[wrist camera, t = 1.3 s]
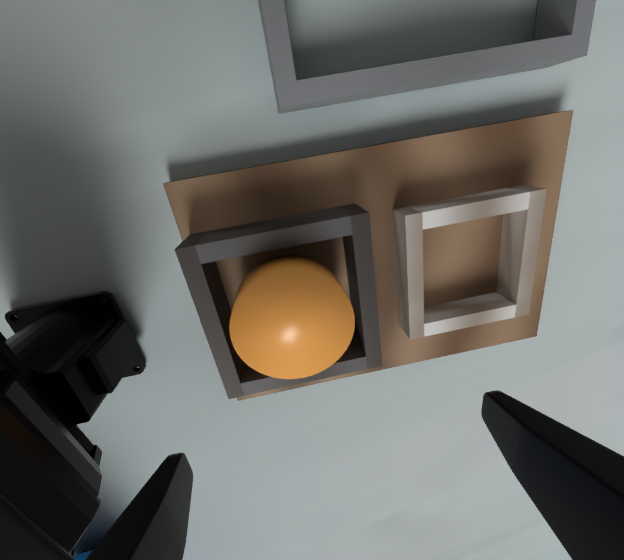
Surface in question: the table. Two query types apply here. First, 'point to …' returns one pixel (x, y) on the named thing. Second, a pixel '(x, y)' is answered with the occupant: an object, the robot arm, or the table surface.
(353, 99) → the gray square frame
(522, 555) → the table surface
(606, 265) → the table surface
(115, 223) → the table surface
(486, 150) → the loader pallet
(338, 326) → the button
